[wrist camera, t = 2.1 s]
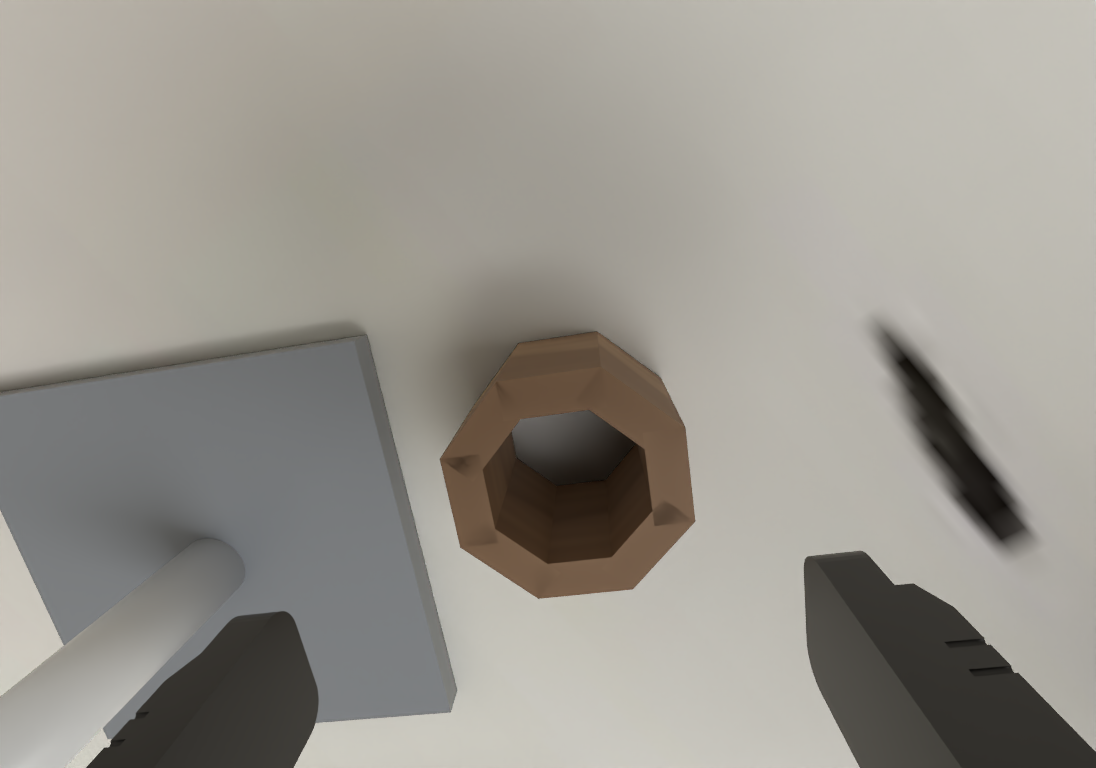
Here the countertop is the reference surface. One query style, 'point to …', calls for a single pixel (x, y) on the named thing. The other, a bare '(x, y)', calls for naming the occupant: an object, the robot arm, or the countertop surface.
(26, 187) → the countertop surface
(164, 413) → the post stand
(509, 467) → the walnut collar
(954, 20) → the countertop surface
